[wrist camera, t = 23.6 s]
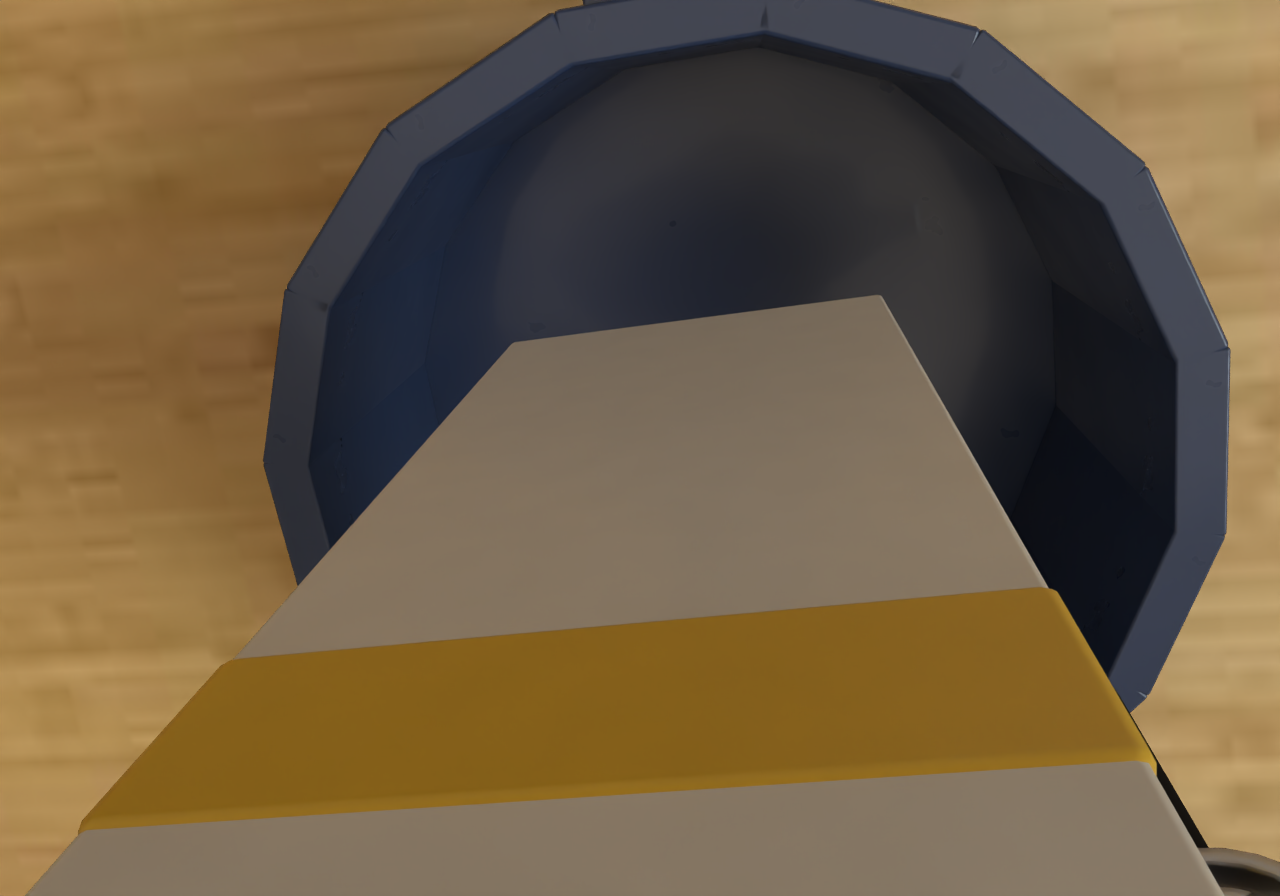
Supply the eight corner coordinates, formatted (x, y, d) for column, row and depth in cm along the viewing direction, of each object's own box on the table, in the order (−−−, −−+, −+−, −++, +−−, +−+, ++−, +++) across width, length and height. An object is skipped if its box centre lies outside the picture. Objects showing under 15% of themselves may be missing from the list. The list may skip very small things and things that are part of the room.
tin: (496, 781, 29) (416, 1008, 22) (302, -56, 22) (98, -116, 15) (1094, 738, 27) (1218, 975, 20) (1073, -203, 20) (1248, -352, 13)
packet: (607, 842, 15) (384, 2035, 6) (507, 339, 13) (-115, 1021, 4) (927, 824, 15) (1232, 2126, 5) (884, 289, 12) (1292, 970, 3)
